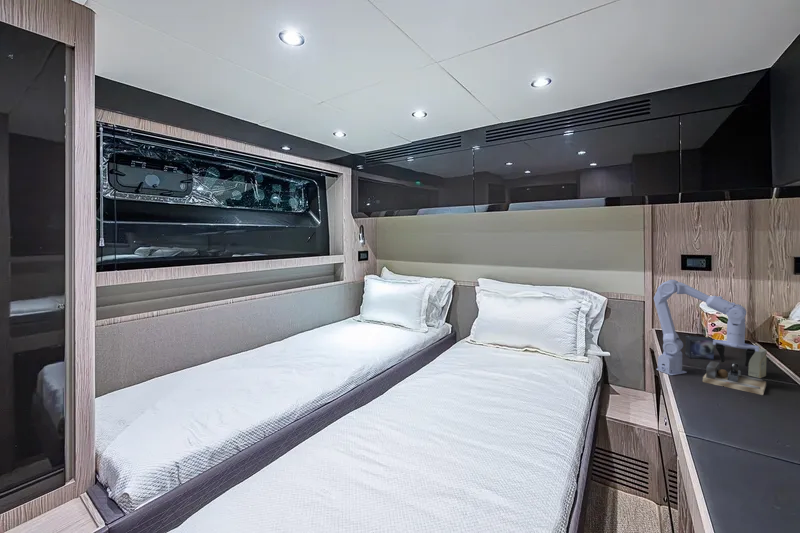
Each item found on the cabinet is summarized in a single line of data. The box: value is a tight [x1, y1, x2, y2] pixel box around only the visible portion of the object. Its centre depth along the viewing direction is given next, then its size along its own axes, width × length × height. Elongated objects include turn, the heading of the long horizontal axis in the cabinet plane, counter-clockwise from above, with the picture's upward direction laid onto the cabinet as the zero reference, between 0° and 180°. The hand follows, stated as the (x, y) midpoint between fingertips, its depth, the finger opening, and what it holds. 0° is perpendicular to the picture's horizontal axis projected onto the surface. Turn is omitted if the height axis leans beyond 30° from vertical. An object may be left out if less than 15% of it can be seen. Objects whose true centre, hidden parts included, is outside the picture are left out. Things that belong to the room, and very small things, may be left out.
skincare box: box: [747, 348, 768, 379], centre depth 163 cm, size 6×4×12 cm
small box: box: [684, 335, 715, 361], centre depth 189 cm, size 11×6×10 cm, turn 69°
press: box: [702, 360, 767, 396], centre depth 156 cm, size 19×12×7 cm, turn 40°
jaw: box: [728, 362, 742, 382], centre depth 156 cm, size 3×9×7 cm, turn 131°
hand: (734, 363), depth 155 cm, fingers open, 7 cm apart
